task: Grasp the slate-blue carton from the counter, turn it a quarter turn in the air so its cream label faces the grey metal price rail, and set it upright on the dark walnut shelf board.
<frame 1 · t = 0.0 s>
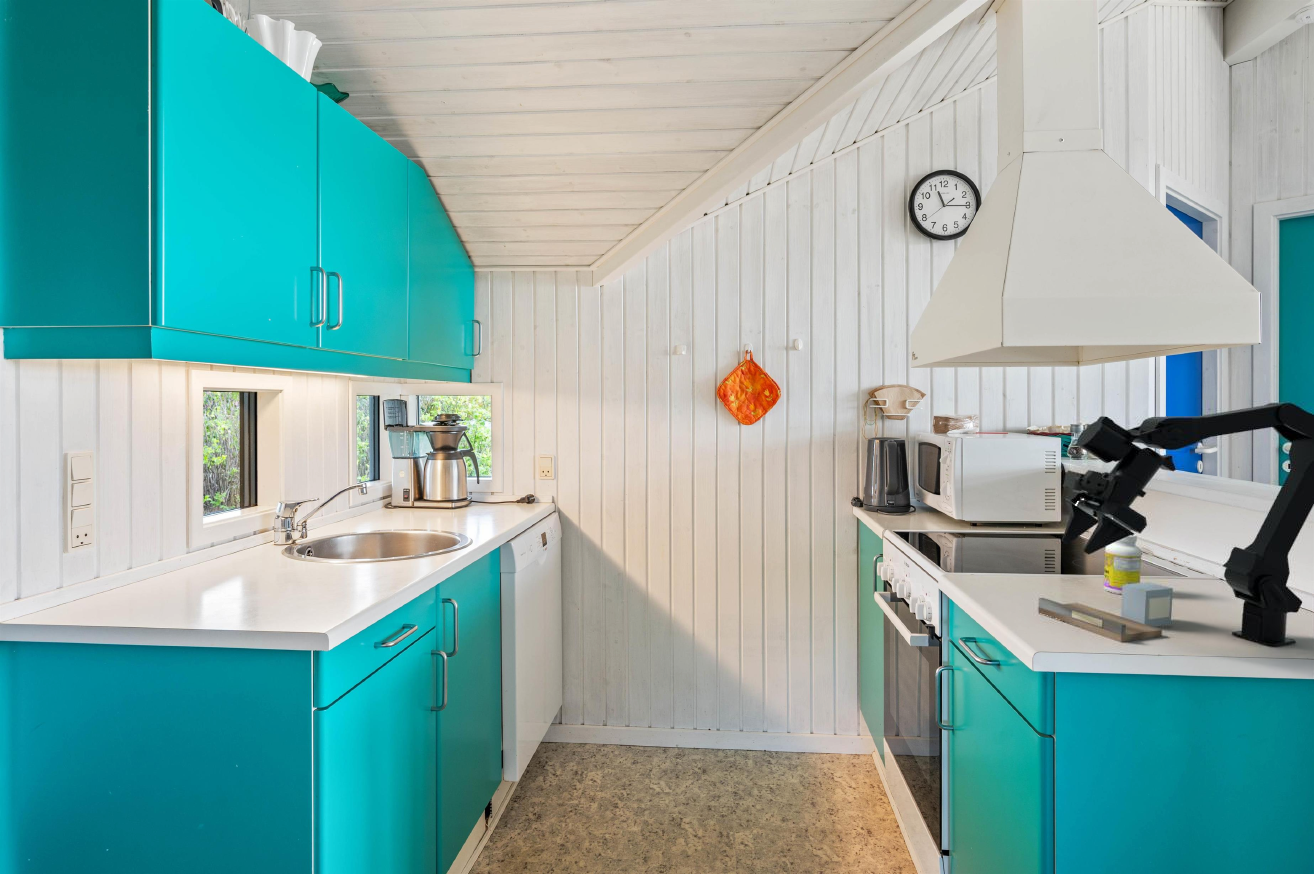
hand: (1074, 547, 127), 15 cm above the countertop, tool tilted 35°, fingers open, 9 cm apart
carton: (1145, 622, 131), on the countertop
supplement bottle: (1121, 592, 152), on the countertop
shelf board: (1096, 624, 129), on the countertop
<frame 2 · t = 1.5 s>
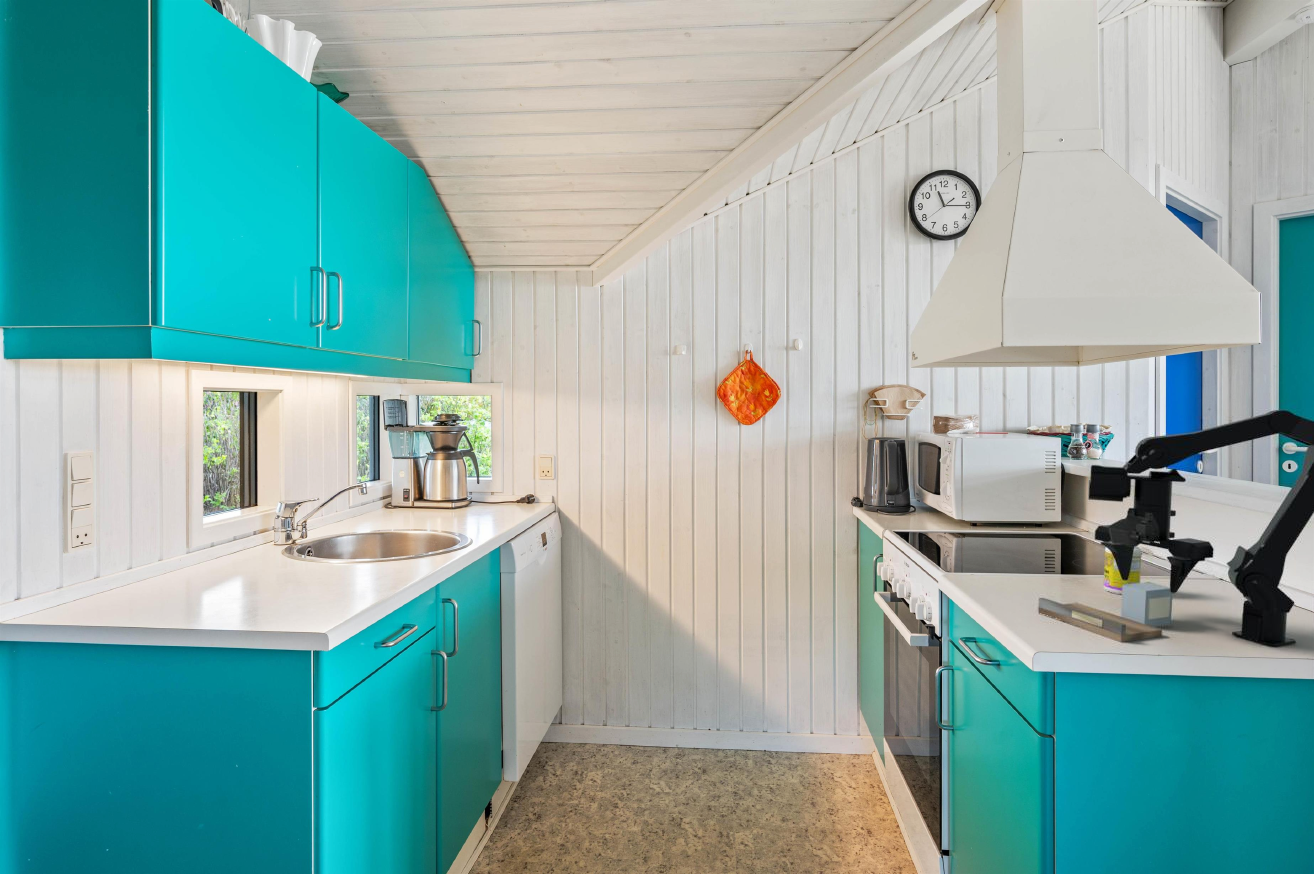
hand: (1148, 586, 130), 7 cm above the countertop, tool pointing down, fingers open, 9 cm apart
nothing on the countertop moved.
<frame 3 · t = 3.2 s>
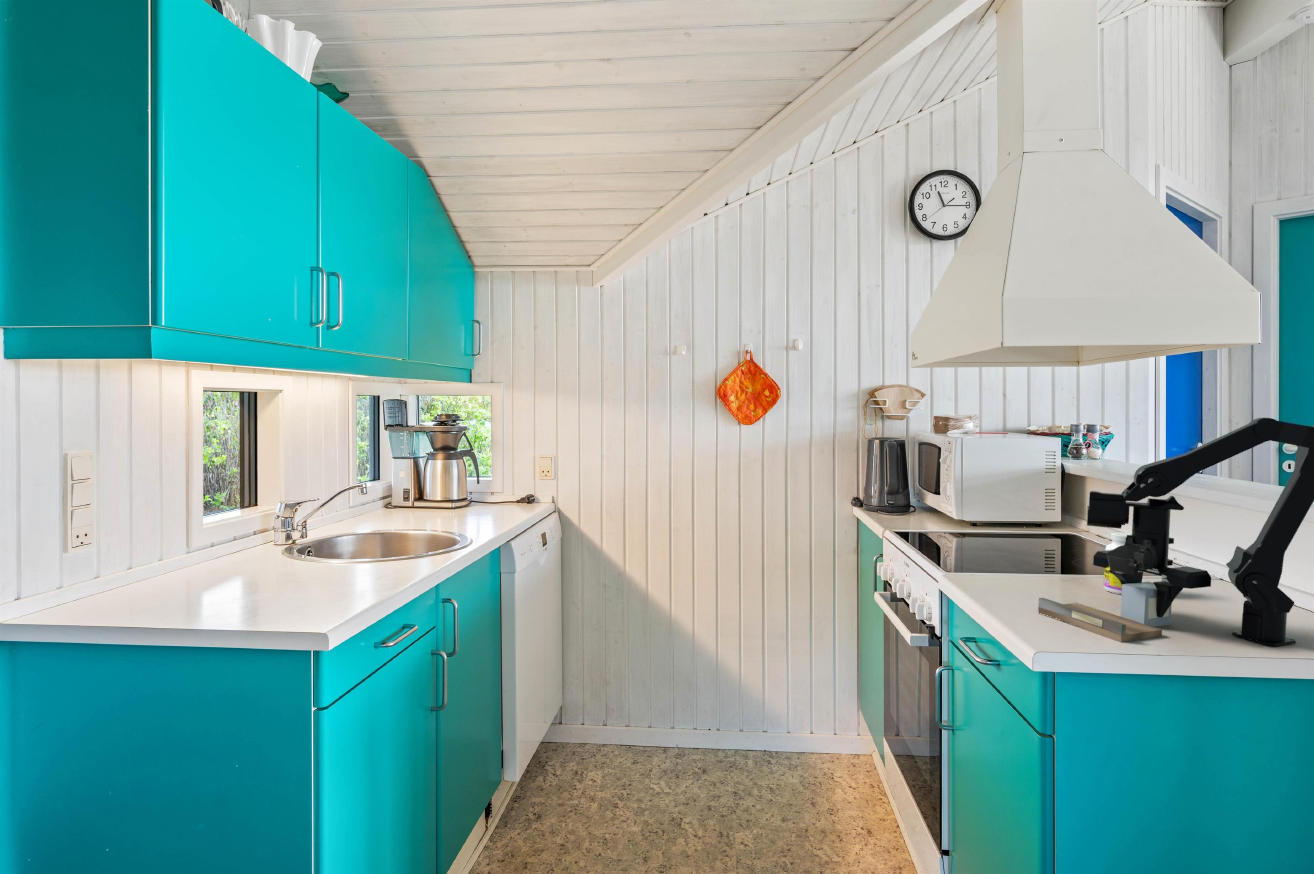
hand: (1146, 612, 131), 2 cm above the countertop, tool pointing down, fingers closed on carton, 5 cm apart
carton: (1145, 622, 131), on the countertop, touching gripper
everything else where it was.
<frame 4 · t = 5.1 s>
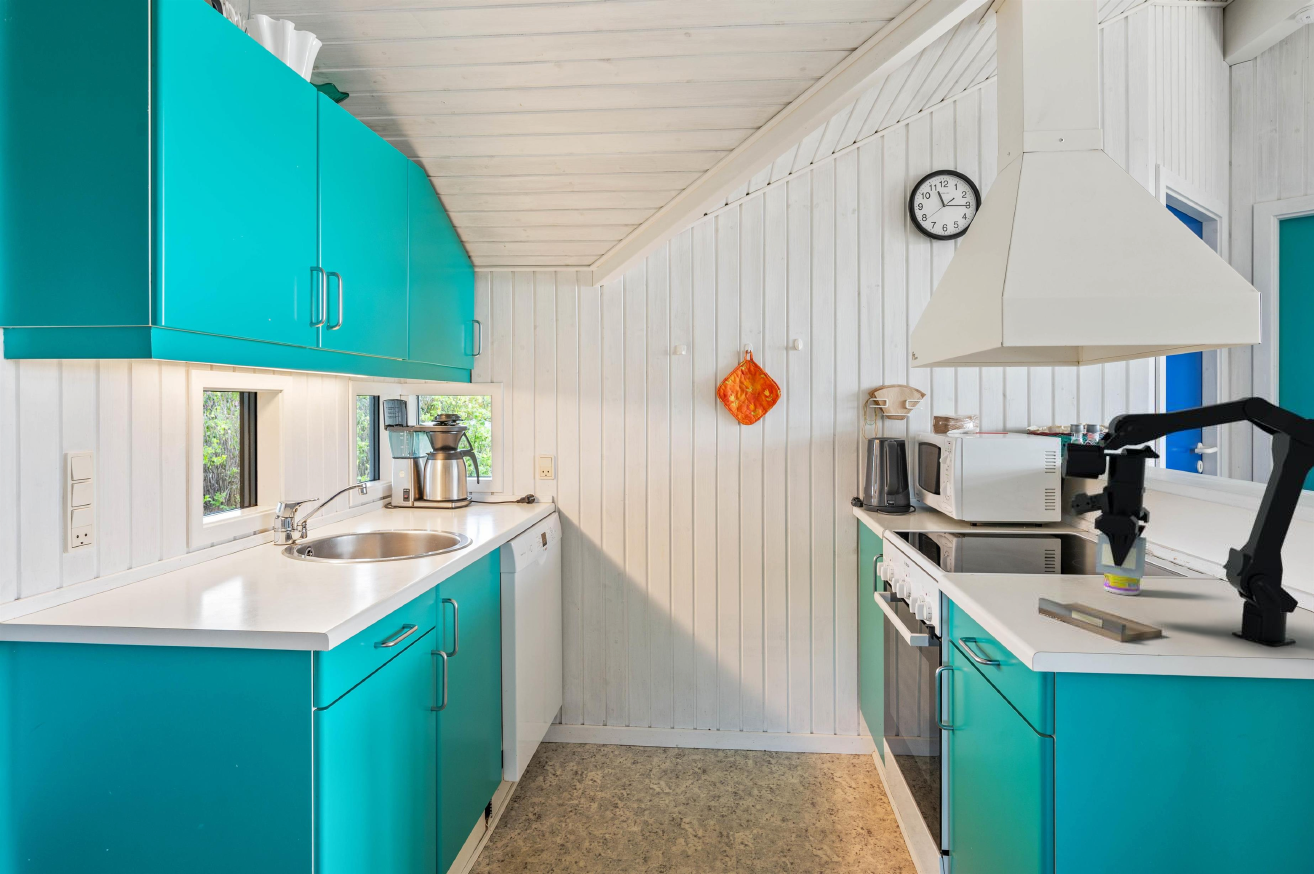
hand: (1120, 563, 130), 11 cm above the countertop, tool pointing down, fingers closed on carton, 5 cm apart
carton: (1119, 573, 130), point 9 cm above the countertop, touching gripper
everything else where it was.
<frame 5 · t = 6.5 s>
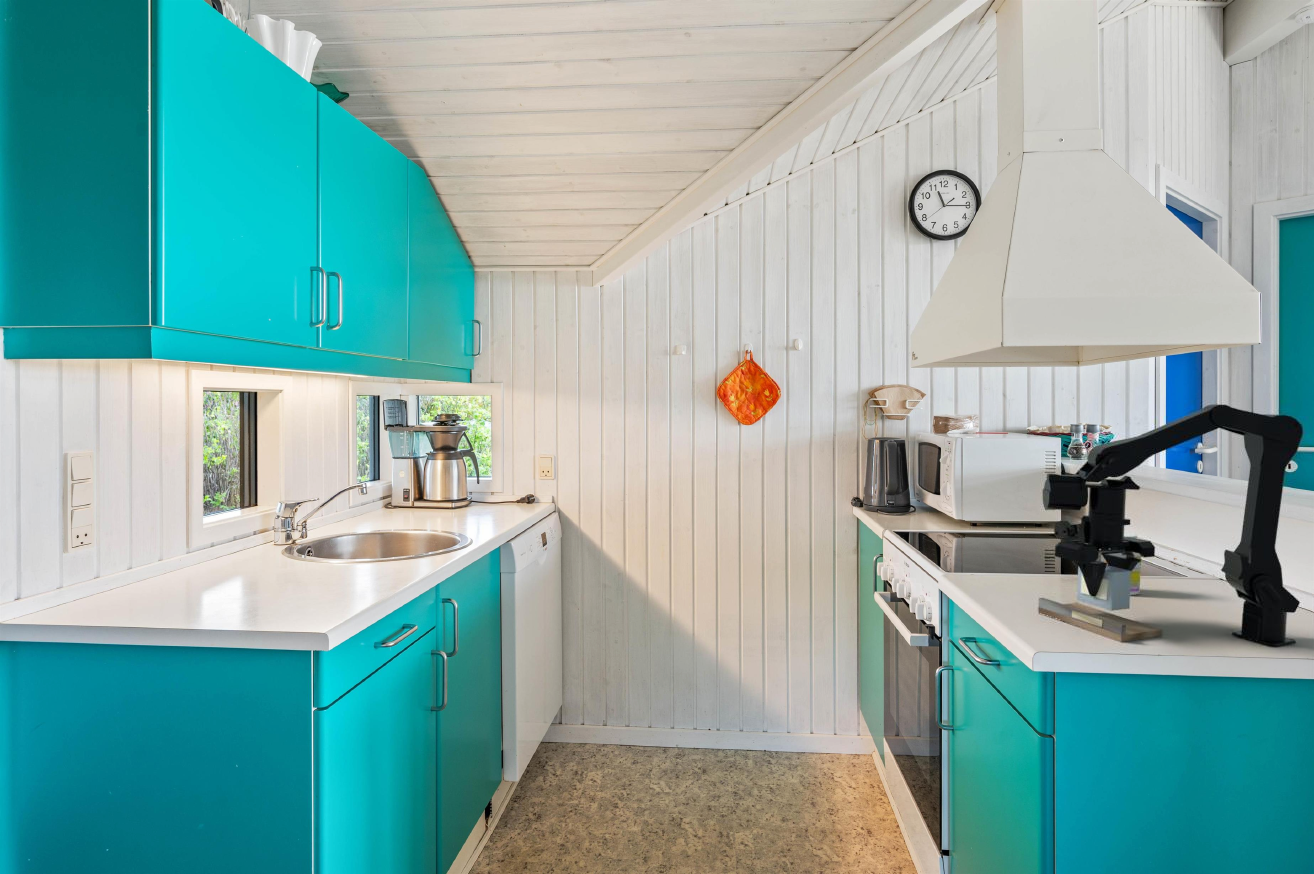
hand: (1102, 594, 129), 5 cm above the countertop, tool pointing down, fingers closed on carton, 5 cm apart
carton: (1102, 604, 130), point 4 cm above the countertop, touching gripper
everything else where it was.
when the fingers open (4 cm above the countertop, at t = 7.5 s): carton drops 1 cm, resting on shelf board.
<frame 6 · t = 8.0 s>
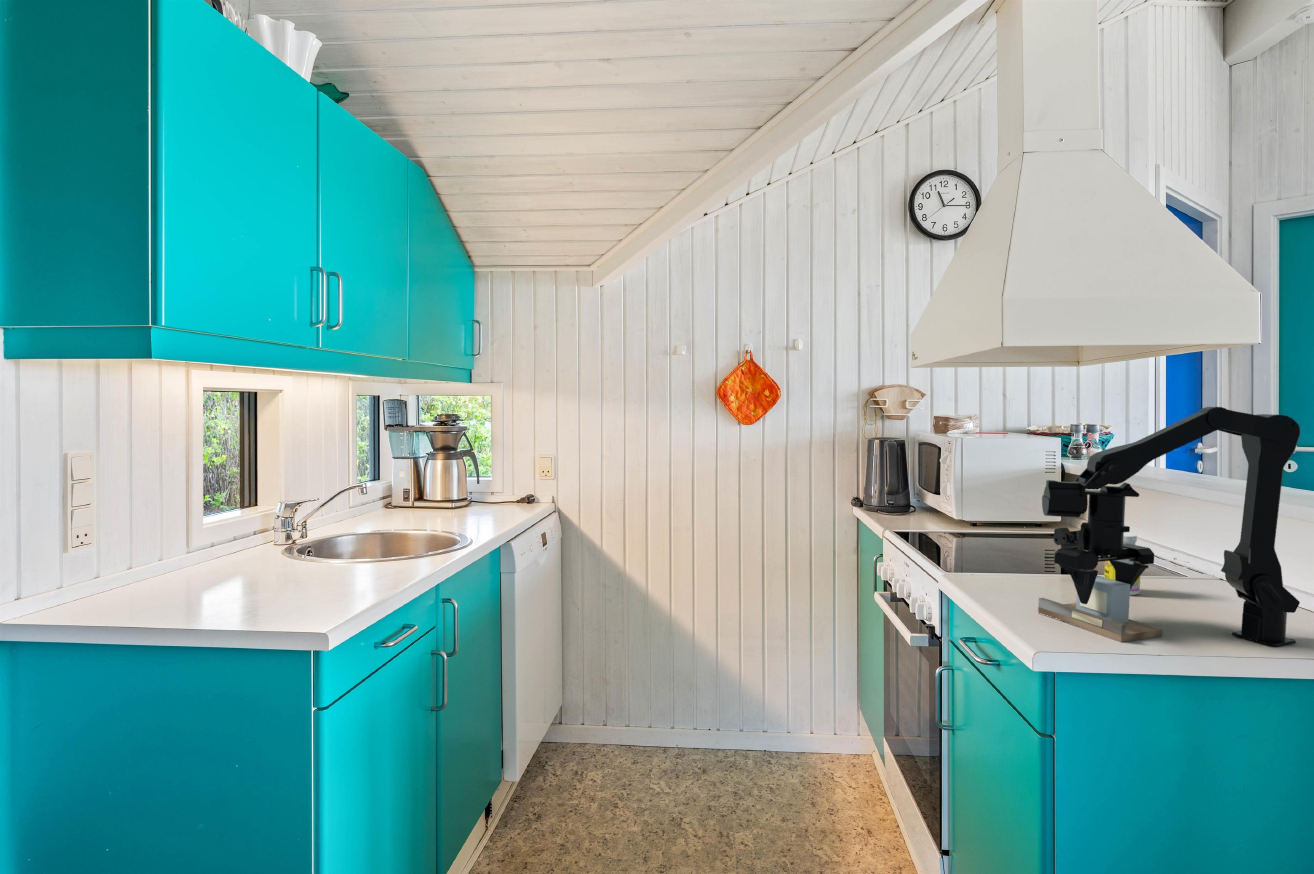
hand: (1102, 601, 130), 4 cm above the countertop, tool pointing down, fingers open, 9 cm apart
carton: (1101, 617, 130), point 1 cm above the countertop, touching shelf board
everything else where it was.
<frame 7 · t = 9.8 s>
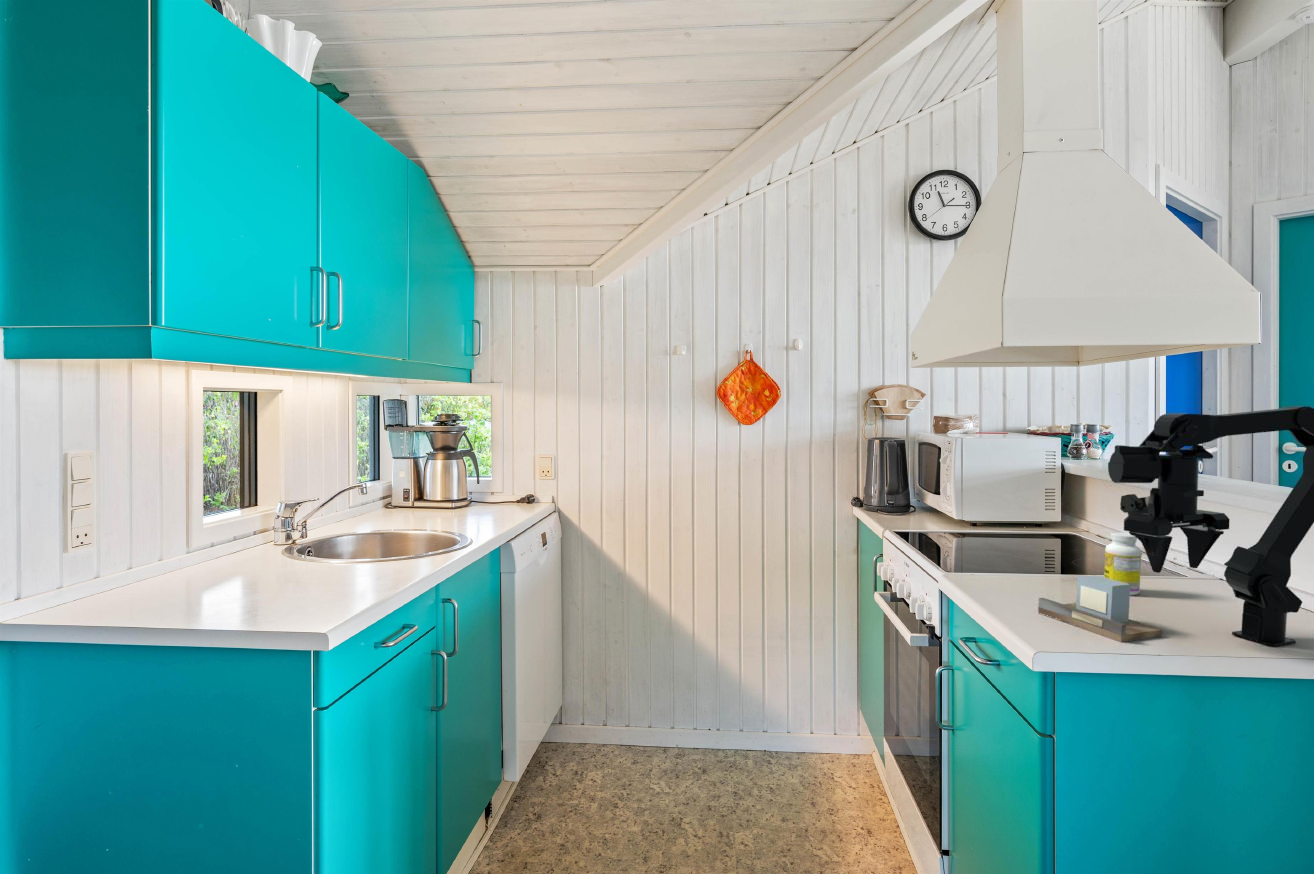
hand: (1175, 569, 124), 12 cm above the countertop, tool pointing down, fingers open, 9 cm apart
nothing on the countertop moved.
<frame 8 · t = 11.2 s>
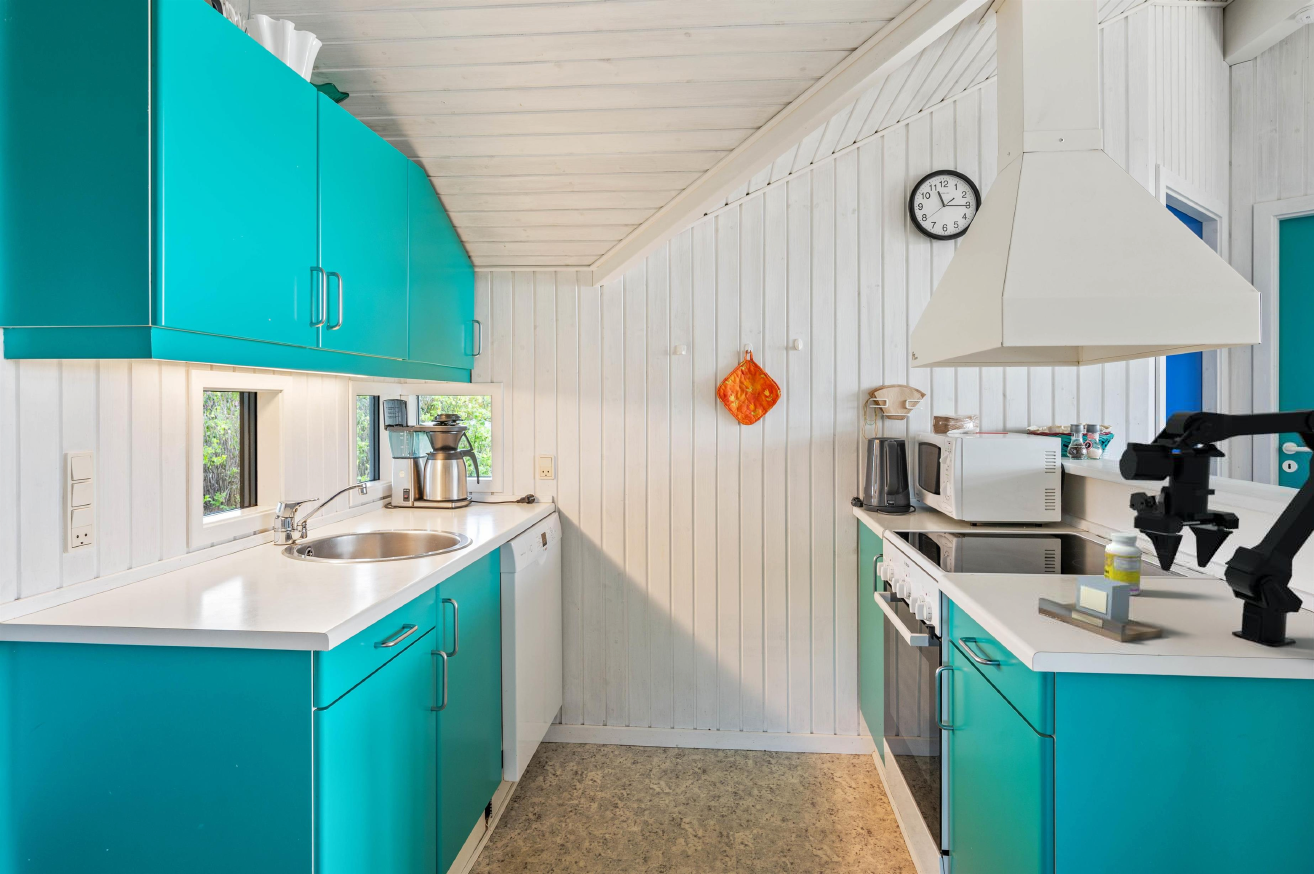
hand: (1183, 568, 123), 12 cm above the countertop, tool pointing down, fingers open, 9 cm apart
nothing on the countertop moved.
at the end: carton inside the target area on the shelf board (0.1 cm from its centre), point 1.2 cm above the shelf board's base; carton tilted 0°; the gripper is holding nothing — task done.
